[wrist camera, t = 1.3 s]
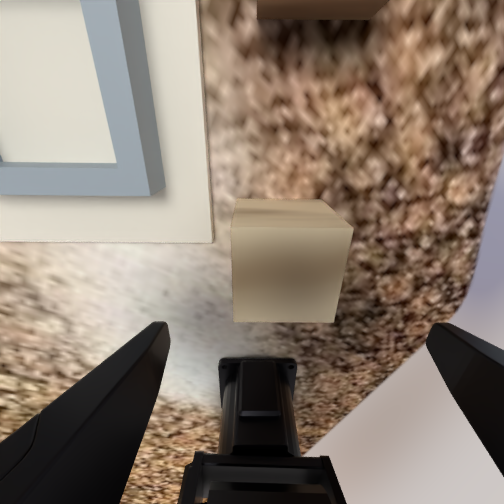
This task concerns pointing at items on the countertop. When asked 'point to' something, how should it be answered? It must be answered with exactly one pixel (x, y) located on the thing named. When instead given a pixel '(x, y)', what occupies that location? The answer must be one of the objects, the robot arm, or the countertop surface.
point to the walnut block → (319, 9)
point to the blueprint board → (103, 122)
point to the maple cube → (287, 260)
